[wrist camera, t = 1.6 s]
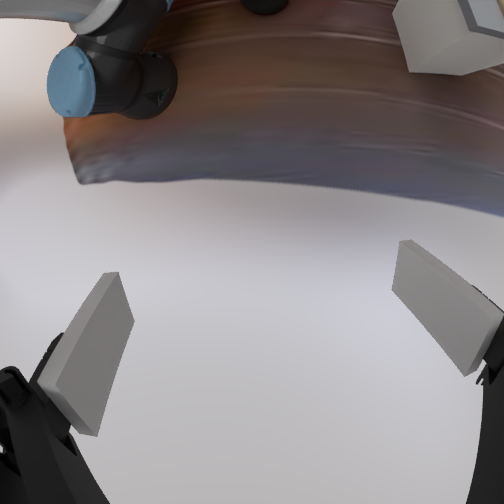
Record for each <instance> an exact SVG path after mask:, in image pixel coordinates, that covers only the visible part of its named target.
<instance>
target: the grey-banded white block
mask: <svg viewBox="0 0 504 504" xmlns="http://www.w3.org/2000/svg"><path fill="white" fill-rule="evenodd" d="M392 15H393V18H394V21H395V24H396V27H397V30H398V34H399V37H400V40H401V43H402V47H403V51H404V54H405V58H406V62H407V66H408V70H409V72H414V73H436V74H449V75H460V76H462V75H465V74H468V73H472V72H475V71H478V70H482V69H485V68H489V67H492V66H496V65H500V64H504V17H503V15H502V12H501V10H500V7H499V5H498V3H497V0H399V1H398V3H397V5H396V7H395V9H394V11H393V13H392Z"/></svg>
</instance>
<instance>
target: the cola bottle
mask: <svg viewBox="0 0 504 504" xmlns="http://www.w3.org/2000/svg"><path fill="white" fill-rule="evenodd" d="M240 2H241V3H242V4H243V6H245V7H246V8H247V9H249V10H250V11H252V12H255V13H259V14H270V13H274V12H277V11H278V10H280V9H281V8H283V7H284V5H285V4H286V2H287V0H240Z"/></svg>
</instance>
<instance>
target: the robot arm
mask: <svg viewBox="0 0 504 504" xmlns="http://www.w3.org/2000/svg"><path fill="white" fill-rule="evenodd" d="M173 1H174V0H0V18H23V19H39V20H51V21H60V22H67V23H69V26H70V28H71V30H72V31H73V32H74V33H76V34H78V36H77V38H76V40H75V42H74V44H73V46H69V47H66V48H64V49H62V50H61V51H60V52H59V54H57V55H56V57H55V58H54V59H53V61H52V63H51V66H50V69H49V72H48V77H47V93H48V97H49V101H50V104H51V106H52V108H53V109H54V110H55V112H57V113H58V114H59V115H61V116H64V117H85V116H89V115H98V114H108V113H119V114H122V115H124V116H126V117H128V118H131V119H137V120H140V119H149V118H153V117H155V116H157V115H158V114H160V113H161V112H162V111H164V110H165V109H166V107H167V106H168V105H169V104H170V102H171V100H172V99H173V96H174V94H175V91H176V87H177V72H176V68H175V66H174V64H173V62H172V61H171V60H170V59H169V58H168V57H167V56H166V55H164V54H161V53H158V52H154V51H143V52H141V51H142V50H143V48H144V46H145V45H146V43H147V41H148V40H149V38H150V36H151V35H152V33H153V32H154V30H155V29H156V27H157V26H158V24H159V23H160V21H161V20H162V18H163V17H164V15H165V14H166V13H167V12H168V10H169V9H170V5H171V4H172V2H173ZM392 291H393V292H394V293H395V294H396V295H397V296H398V297H399V299H400V300H401V301H402V302H403V303H404V304H405V305H406V306H407V307H408V309H409V310H410V311H411V312H412V313H413V314H414V315H415V317H416V318H417V319H418V320H419V321H420V322H421V324H422V325H423V326H424V327H425V328H426V329H427V331H428V332H429V333H430V334H431V335H432V337H433V338H434V339H435V340H436V341H437V343H438V344H439V345H440V346H441V347H442V349H443V350H444V351H445V352H446V354H447V355H448V356H449V357H450V359H451V360H452V361H453V363H454V364H455V365H456V366H457V368H458V369H459V370H460V372H461V373H462V374H463V376H464V377H465V376H467V375H469V374H471V373H473V372H475V371H476V370H477V368H478V367H479V365H480V363H481V361H482V359H484V360H485V362H486V363H487V364H486V365H485V367H484V369H483V370H482V372H481V374H480V375H479V377H478V379H477V381H476V384H478V383H479V382H480V380H481V379H482V378H483V382H482V384H481V385H483V408H482V422H481V431H480V439H479V446H478V453H477V458H476V464H475V469H474V474H473V478H472V483H471V487H470V491H469V494H468V498H467V502H466V504H504V311H503V310H501V309H500V308H499V307H498V306H497V305H496V304H495V303H493V302H492V301H491V300H490V299H488V297H487V296H485V295H484V294H482V292H481V291H480V290H478V289H477V288H476V287H475V286H473V285H471V284H469V283H468V282H467V281H466V280H464V279H463V278H462V277H461V276H459V275H458V274H457V273H455V272H454V271H453V270H452V269H450V268H449V267H448V266H447V265H445V264H444V263H442V262H441V261H440V260H439V259H437V258H436V257H435V256H433V255H432V254H430V253H429V252H428V251H426V250H425V249H424V248H422V247H421V246H419V245H418V244H417V243H415V242H414V241H412V240H407V241H400V242H399V249H398V256H397V262H396V268H395V275H394V280H393V285H392ZM133 324H134V318H133V315H132V312H131V310H130V307H129V304H128V301H127V298H126V295H125V292H124V289H123V285H122V282H121V279H120V276H119V272H110V273H104V274H103V275H102V277H101V278H100V279H99V281H98V282H97V284H96V285H95V286H94V288H93V289H92V291H91V292H90V294H89V295H88V297H87V298H86V300H85V301H84V303H83V304H82V306H81V307H80V309H79V310H78V312H77V313H76V315H75V317H74V318H73V320H72V321H71V323H70V325H69V326H68V328H67V330H66V331H65V333H60V334H59V335H58V336H57V337H56V338H55V339H54V340H53V341H52V342H51V344H50V346H49V347H48V349H47V352H46V353H45V354H44V356H43V359H41V361H40V363H39V365H38V366H37V368H36V370H35V372H34V373H33V375H32V377H31V379H30V381H29V383H28V382H27V381H26V379H25V378H24V376H23V375H22V374H21V372H20V371H19V369H18V368H16V367H14V366H9V367H5V368H3V369H2V370H0V445H1V446H2V447H3V452H2V453H1V452H0V504H110V503H109V501H108V500H107V498H106V497H105V495H104V494H103V492H102V490H101V489H100V487H99V485H98V484H97V482H96V480H95V479H94V477H93V475H92V473H91V472H90V470H89V468H88V466H87V464H86V462H85V461H84V459H83V457H82V455H81V453H80V451H79V449H78V447H77V444H76V442H75V440H74V438H73V436H72V435H71V434H70V433H69V429H70V426H71V425H72V426H73V427H74V428H75V429H76V430H77V431H78V432H79V434H85V435H91V436H96V437H97V436H98V432H99V428H100V424H101V421H102V418H103V414H104V411H105V407H106V404H107V400H108V397H109V394H110V391H111V387H112V384H113V381H114V378H115V375H116V372H117V369H118V366H119V363H120V360H121V357H122V354H123V352H124V349H125V346H126V343H127V340H128V338H129V335H130V332H131V330H132V327H133Z"/></svg>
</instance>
